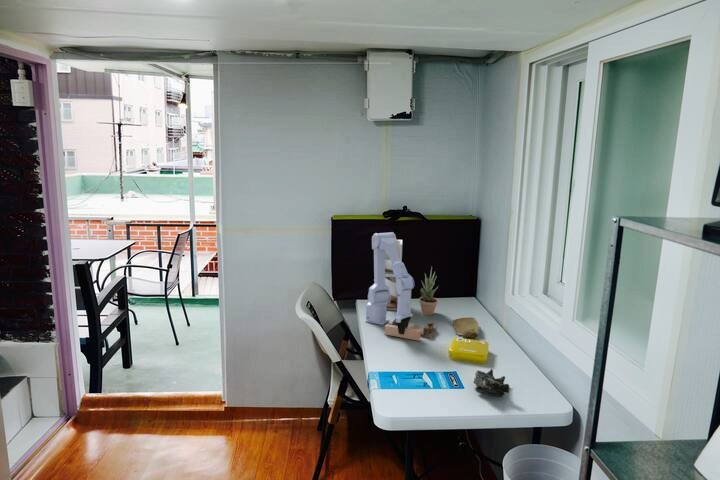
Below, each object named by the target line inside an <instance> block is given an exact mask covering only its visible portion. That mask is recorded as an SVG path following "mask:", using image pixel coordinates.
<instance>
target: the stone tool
mask: <svg viewBox="0 0 720 480" xmlns="http://www.w3.org/2000/svg"><path fill="white" fill-rule="evenodd" d="M451 323H452V326H453V327H454V333H455V334H456V335H457V336H463V337H462V338H464V339H472V340H477V338H478V337H479V336H478V334H479V333H480V326H479V322H478V321H477V318H475V317H469V316H467V317H460V318H455V319H453V320H452V322H451Z"/></svg>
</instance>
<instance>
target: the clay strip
mask: <svg viewBox="0 0 720 480" xmlns="http://www.w3.org/2000/svg"><path fill="white" fill-rule="evenodd" d="M384 335H386V336H387V335H388V336H392V337H397V338H403V339H408V340H413V341H418V342H419V341H420V340H421V330H417V329H412V328H406V327H405V332H404V335H402V334H399V331H398V326H395V325H392V324H388V323H385V324H384Z"/></svg>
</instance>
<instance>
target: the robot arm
mask: <svg viewBox="0 0 720 480" xmlns="http://www.w3.org/2000/svg"><path fill="white" fill-rule="evenodd" d="M396 240H397V237H396V234H395V233H394V232H393V231H391V232H379V233H377V232H375V233H373V235H372V236H371V249H372V250H373V273H374V274H373V276H374V279H373V281H374V283H373V284H372V285H371V286H370V287H369V288H368V294H367V300H368V302H367V304H366V307H365V320H364V321H365V322H366V323H370V324H376V325H382V326H385V325H386V324H387V322H388V321H389V320H390V319H389V318H387V310H386V308H387V304H388V302H389V301H390V299H391V294H390V288H389V287H388V286H387V285H386V284H385V251H387V253H388V255H389V257H390V259H391V261H392V263H393V265H392V270H393V273H394V275H395V278H396V280H397V281H396V288H397V293H398V303H397V311H396V317H395V318H394V320H395V322H396V324H397V326H398V331H399V334H402V335H404V332H405V327H406V328H407V327H408V324H410V321H411V319H412V317H413V313H412V312H411V300H412V290H413V289H414V287H415V280H414V278H413V277H412V276H411V274H409V273H408V270H407V267H406V266H405V263H404V262H401V261H400V259H399V256H398V253H397V249H396V246H395V245H396Z"/></svg>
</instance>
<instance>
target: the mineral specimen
mask: <svg viewBox="0 0 720 480" xmlns="http://www.w3.org/2000/svg"><path fill="white" fill-rule="evenodd" d="M505 380H506V376H505V375H502V376H501V377H498V378H495V376H494V369H492V368H490V369H489V371H488V372H484V371H482V370H476V371H475V377H474V380H473V384H474V385H475V388H474V390H475V391H476V392H481V393H484V394H486V395H488V396H490V397H492V396H498V397H503V396H504V395H506V394H507V393H508V394H509V393H510V392H509V390H510V389H511V388H510V385H509V384H508V383H505Z"/></svg>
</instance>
